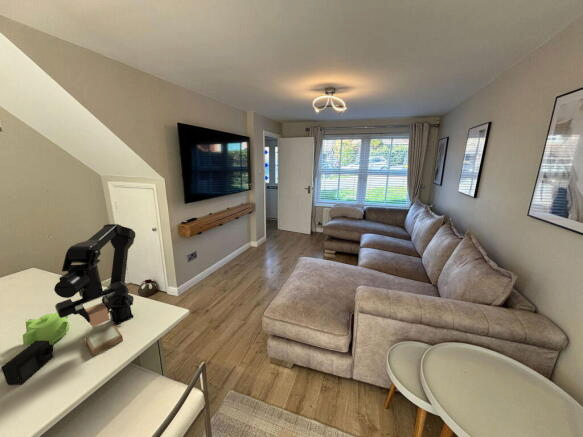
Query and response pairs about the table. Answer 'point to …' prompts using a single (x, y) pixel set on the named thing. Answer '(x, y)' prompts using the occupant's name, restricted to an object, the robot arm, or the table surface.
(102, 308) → the cube
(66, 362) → the table surface
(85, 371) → the table surface
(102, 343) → the stand
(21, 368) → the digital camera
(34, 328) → the teapot
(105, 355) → the table surface
